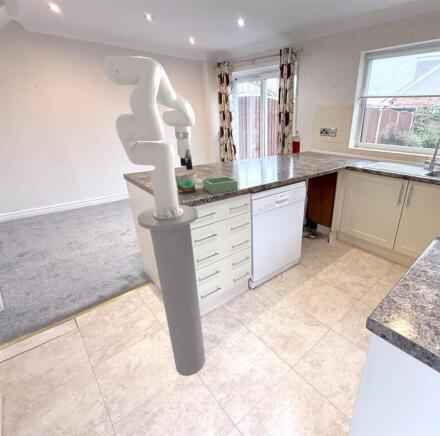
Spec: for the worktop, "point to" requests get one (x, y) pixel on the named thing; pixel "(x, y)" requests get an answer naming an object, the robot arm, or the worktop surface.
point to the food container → (186, 183)
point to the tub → (220, 184)
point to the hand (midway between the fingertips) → (186, 167)
